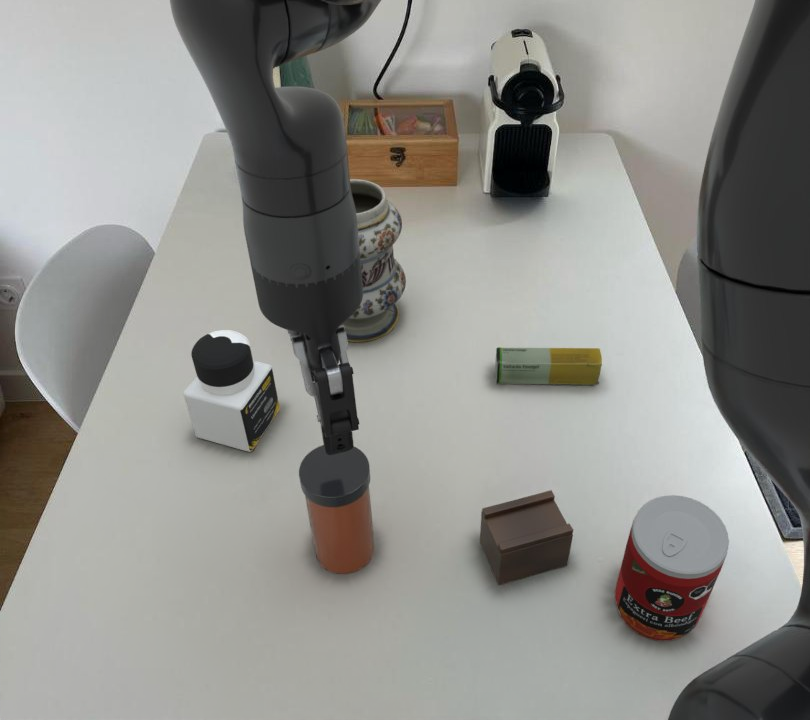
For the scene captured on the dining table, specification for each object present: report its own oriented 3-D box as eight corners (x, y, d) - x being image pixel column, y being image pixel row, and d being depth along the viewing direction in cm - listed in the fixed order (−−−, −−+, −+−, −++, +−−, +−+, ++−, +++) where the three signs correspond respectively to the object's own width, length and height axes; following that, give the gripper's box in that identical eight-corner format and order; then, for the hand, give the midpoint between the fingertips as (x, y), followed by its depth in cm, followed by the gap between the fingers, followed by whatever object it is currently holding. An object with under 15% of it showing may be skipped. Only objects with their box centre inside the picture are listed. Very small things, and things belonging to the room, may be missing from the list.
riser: (545, 524, 80) (551, 488, 77) (567, 565, 77) (574, 530, 73) (479, 542, 79) (481, 507, 75) (498, 585, 76) (501, 551, 72)
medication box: (494, 385, 95) (495, 363, 92) (494, 368, 97) (495, 345, 94) (599, 386, 94) (603, 363, 91) (596, 368, 96) (600, 345, 93)
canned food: (605, 628, 72) (624, 557, 65) (622, 556, 77) (641, 483, 70) (694, 656, 70) (724, 587, 62) (705, 580, 75) (734, 508, 68)
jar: (307, 531, 81) (367, 515, 82) (320, 583, 76) (384, 565, 77) (292, 451, 73) (359, 435, 74) (306, 505, 68) (377, 487, 69)
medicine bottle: (251, 454, 88) (232, 374, 80) (195, 438, 90) (170, 358, 82) (281, 409, 93) (266, 329, 85) (226, 395, 95) (207, 316, 87)
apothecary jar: (365, 277, 111) (356, 159, 99) (426, 317, 104) (424, 196, 92) (295, 317, 105) (276, 196, 93) (354, 362, 99) (342, 238, 86)
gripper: (385, 297, 51) (395, 465, 62) (334, 186, 61) (350, 347, 72) (267, 321, 49) (299, 489, 60) (234, 204, 60) (267, 366, 70)
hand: (327, 412), depth 66 cm, fingers open, 8 cm apart
